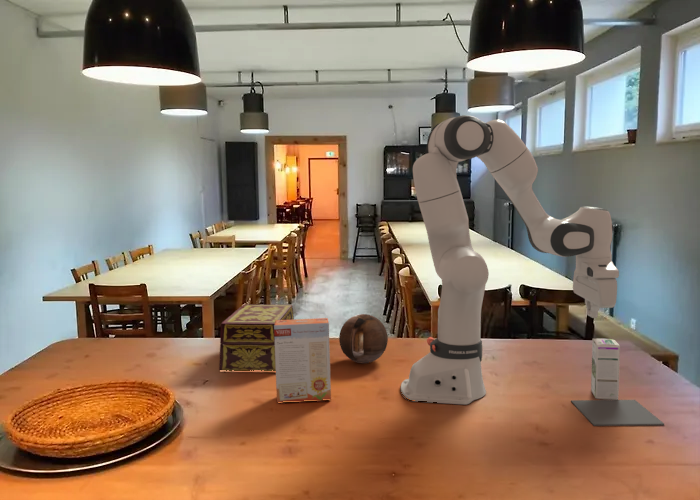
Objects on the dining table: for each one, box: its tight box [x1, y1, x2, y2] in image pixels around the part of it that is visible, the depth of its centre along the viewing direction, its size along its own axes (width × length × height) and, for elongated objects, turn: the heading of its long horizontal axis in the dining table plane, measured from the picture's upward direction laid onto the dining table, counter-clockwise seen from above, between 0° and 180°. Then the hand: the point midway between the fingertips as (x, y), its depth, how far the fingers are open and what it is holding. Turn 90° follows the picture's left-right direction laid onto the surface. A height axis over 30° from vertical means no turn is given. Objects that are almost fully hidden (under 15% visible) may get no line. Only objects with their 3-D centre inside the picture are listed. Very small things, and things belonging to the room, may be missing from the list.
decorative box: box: [218, 304, 295, 371], centre depth 183 cm, size 28×19×15 cm
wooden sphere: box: [338, 313, 389, 364], centre depth 177 cm, size 15×15×15 cm
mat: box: [570, 399, 665, 427], centre depth 138 cm, size 16×14×1 cm
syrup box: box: [590, 337, 621, 400], centre depth 148 cm, size 6×6×14 cm
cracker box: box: [274, 317, 332, 403], centre depth 148 cm, size 14×6×21 cm, turn 94°
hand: (592, 316), depth 156 cm, fingers closed
